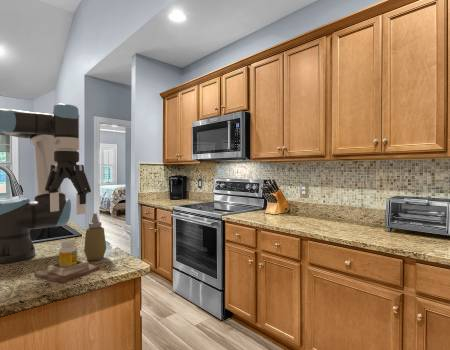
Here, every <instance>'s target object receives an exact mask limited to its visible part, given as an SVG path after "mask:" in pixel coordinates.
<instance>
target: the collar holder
mask: <svg viewBox="0 0 450 350" xmlns="http://www.w3.org/2000/svg"><path fill="white" fill-rule="evenodd" d="M100 267H101V266H100V265H95V264H91V263H90V261H89V260H88V261H87V260H82V259H78V258H77V265H74V266H71V267H68V268H66V269H65V268H61V267H59V261H58V262H55V263H52V264H48V265H47V266H46V269H43V270H39V271H36V272H34V277H37V278H41V279H44V280H49V281H52V282H55V283H59V284H64V283H68V282H69V281H72V280H75V279H77V278H80V277H82V276H85V275H88V274H90V273H93V272H95V271H99V270H100V269H101V268H100Z"/></svg>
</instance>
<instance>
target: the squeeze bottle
mask: <svg viewBox="0 0 450 350" xmlns="http://www.w3.org/2000/svg"><path fill="white" fill-rule="evenodd" d="M105 236H106V235H105V228H104V227H102V221H99V217H98V213H96V212H95V213H93V215H92V219H91V222H88V228H87V229H85V236H84V237H85V238H84V250H83V252H84V255H85V258H86V259H87V260H88V261H99V260H102V259H104V258H105V254H106V252H107V243H106V237H105Z"/></svg>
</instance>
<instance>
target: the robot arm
mask: <svg viewBox="0 0 450 350" xmlns="http://www.w3.org/2000/svg"><path fill="white" fill-rule="evenodd" d="M0 132H1V133H2V134H5V135H8V136H11V137H16V138H22V139H30V143H31V145H32V146H33V145H34V152H35V154H34V155H35V165H36V166H35V168H36V177H37V178H36V180H37V194H36V195H35V196H34V200H30V198H29V197H22V198H20V197H19V198H13V199H9V200H8V199H7V200H3V201H0V264H8V263H15V262H20V261H24V260H25V261H26V260H28V259H30V258H32V257H34V256H35V255H36V248H35V246H34V243H33V241H32V238H31V235H30V232H31V231H30V230H36V229H46V228H47V229H48V228H57V227H60V226H62V227H63V226H65V225H67V224H68V223H69V221H70V217H71V211H72V202H71V199H70V198H67V197H66V193H64V192H62V186H61V185H62V183H63V182H64V180H65V179H68V180H70V181H71V183H72V185H73V187H74V188H75V190H76V192H77V193H76V200H75V201H76V215H78V216H79V215H85V214H86V204H87V195H88V193H89V194H90V193H91V192H92V189H91V186H90V184H89V181H88V177H87V175H86V173H85V166H84V164H77V163H79V162H80V152H79V150H80V115H79V108H78V107H77V106H76V105H73V104H70V103H69V104H67V103H56V104H54V105H53V112H52V113H43V112H34V111H33V112H32V111H25V110H17V109H11V108H10V109H9V108H0Z"/></svg>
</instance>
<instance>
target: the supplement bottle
mask: <svg viewBox="0 0 450 350" xmlns="http://www.w3.org/2000/svg"><path fill="white" fill-rule="evenodd" d="M75 245H76V241H75V240H73V239H71V240H70V239H69V240H63V241H61V247H60V248H59V251H58V254H59V258H58V260H59V261H58V262H59V267H61V268H65V269H66V268H68V267H71V266H74V265H77V259H78V248H77V246H75Z"/></svg>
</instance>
